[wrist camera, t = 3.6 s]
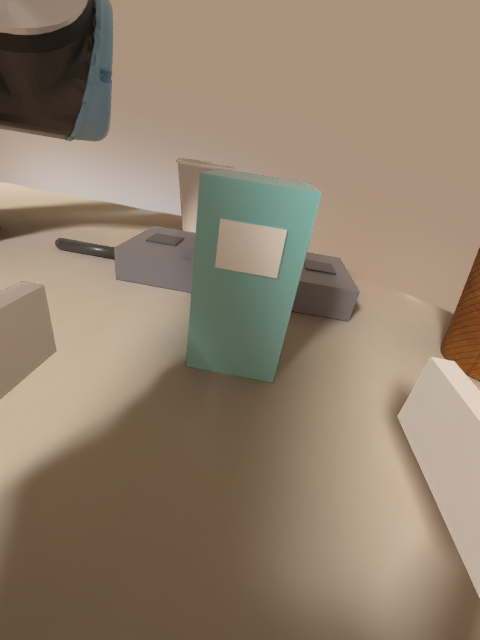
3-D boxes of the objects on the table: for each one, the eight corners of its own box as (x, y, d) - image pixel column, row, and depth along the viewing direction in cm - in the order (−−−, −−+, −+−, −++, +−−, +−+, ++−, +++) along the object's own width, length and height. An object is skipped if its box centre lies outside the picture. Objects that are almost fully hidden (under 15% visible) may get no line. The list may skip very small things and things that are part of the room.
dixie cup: (201, 225, 52) (206, 161, 47) (238, 239, 48) (248, 169, 43) (162, 229, 46) (163, 156, 41) (200, 245, 42) (207, 165, 37)
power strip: (23, 262, 28) (13, 218, 27) (83, 237, 37) (79, 203, 35) (348, 321, 28) (363, 281, 26) (332, 282, 36) (342, 249, 34)
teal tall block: (185, 367, 19) (199, 172, 13) (205, 323, 24) (220, 168, 18) (272, 384, 18) (322, 193, 13) (274, 336, 23) (310, 183, 18)
